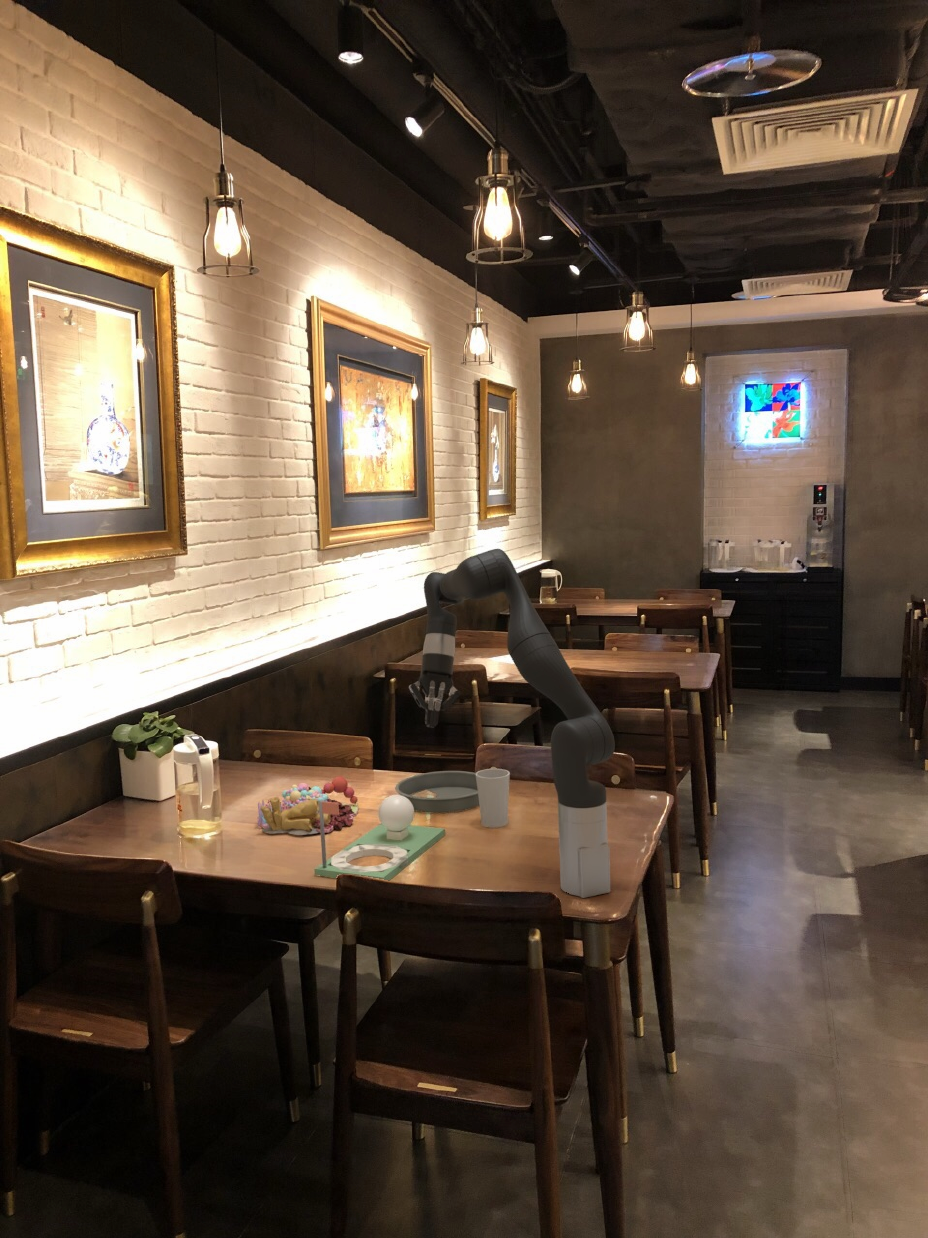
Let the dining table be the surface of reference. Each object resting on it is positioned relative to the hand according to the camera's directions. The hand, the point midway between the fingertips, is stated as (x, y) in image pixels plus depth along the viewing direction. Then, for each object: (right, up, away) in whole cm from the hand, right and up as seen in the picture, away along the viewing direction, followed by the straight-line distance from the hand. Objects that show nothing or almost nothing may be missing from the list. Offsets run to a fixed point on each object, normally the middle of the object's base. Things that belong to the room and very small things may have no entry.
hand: (430, 727), depth 222 cm
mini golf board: (-10, -26, -17) cm, 32 cm away
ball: (-7, -18, -11) cm, 22 cm away
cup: (+15, -23, 0) cm, 27 cm away
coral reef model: (-30, -24, +9) cm, 39 cm away
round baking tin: (+3, -21, +20) cm, 29 cm away
